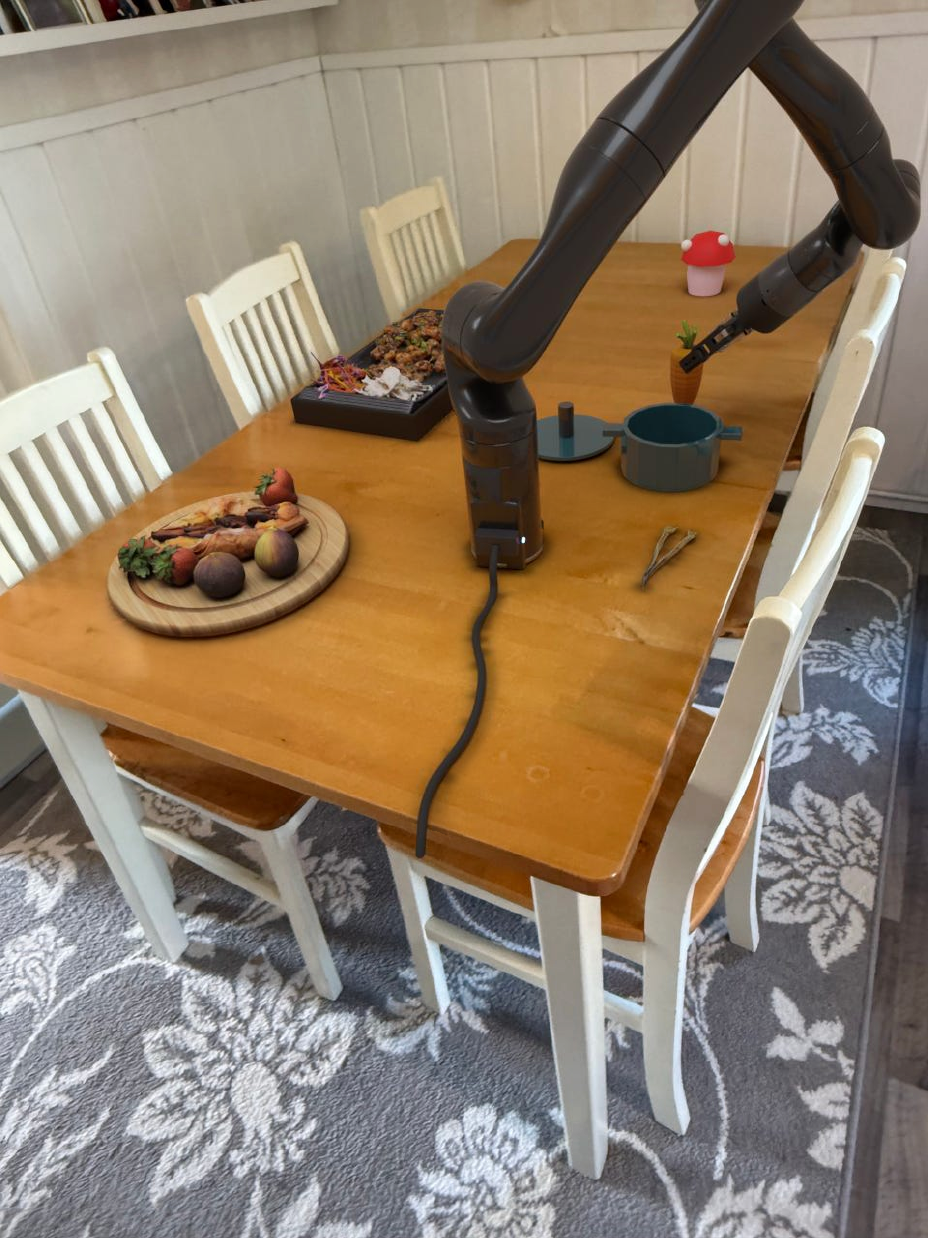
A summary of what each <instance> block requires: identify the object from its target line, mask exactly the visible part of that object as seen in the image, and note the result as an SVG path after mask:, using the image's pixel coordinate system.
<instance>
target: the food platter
mask: <svg viewBox="0 0 928 1238" xmlns="http://www.w3.org/2000/svg"><path fill="white" fill-rule="evenodd" d="M444 310H445V309H432V308H431V309H430V308H421V307H420V308H418V309H416V310H414V311H413V312H412V313H410V314H409V315H408V316H406V317H405V318H403V319H401V320H400V321H399V322H398V321H392V322H391V323H392V324H386V325H385V326H384V327H383V328H382V329H383V330H382V331H383V333H382V334H380V335H379V336H378V337H376V338H375V339H373V340H372V341H371V342H369V343H368V344H366V345H364V346H363V347H362V348H360V349H359V350H358V351H356V352H355V353H353V354H352V355H351V356H349V357H347V356H346V357H345V358H343V355H342V354H338V356H335V357H334V356H333V357H329V358H326V359H325V361H324V362H323V363H321V361H319V359H318V358H317V357H316V356H315V354H314V353H313V352H312V351H311V350H310V351H309V352H310V354H311V355H312V357H313V358H314V359H315V360H316V361H317V363H318V366H319V370H318V369H317V370H316V371H315V372H314V371H312V372H311V373H312V374H314V373H319V374H320V377H319V378H318V379H310V382H312V383H311V384H309V385H305V386H303V388H302V389H301V391H299V392H298V393H296V394H295V395H294V396H292V397H290V400H289V401H290V406H291V410H292V415H293V418H294V423H295V424H302V425H308V426H315V427H322V428H327V429H333V430H340V431H347V432H354V433H358V434H359V433H360V434H366V435H373V436H380V437H384V438H385V437H386V438H391V439H392V438H393V439H399V440H406V441H412V442H419V441H420V440H421V439H423V437H424V436H426V434H428V433H429V432H430V431H431V430H432V429H433V428H435V426H436V425H438V423H440V422H441V421H442V420H443V419H444V418H445V417H446V416H447V415H449V413H451V412H452V411H454V409H453V406H452V403H451V400H450V396H449V389H448V383H447V377H446V370H445V363H444V356H443V349H442V338H441V325H442V318H443V314H444Z"/></svg>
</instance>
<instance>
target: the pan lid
mask: <svg viewBox="0 0 928 1238" xmlns="http://www.w3.org/2000/svg"><path fill="white" fill-rule="evenodd" d="M605 423H608V422H607V421H605V420H604V419H601V418H599V417H595V416H592V415H587V414H578V413H577V414H576V413H575V403H574V402H573V401H560V402H558V404H557V414H555V415H549V416H546V417H542V418H540V419H537V432H538V457H539V459H541V460H547V461H554V462H555V461H557V462H561V461H562V462H567V461H568V462H570V461H578V460H584V459H588V458H591V457H594V456H596V455H598V454H602V452H605V451H606V450H608V449H609V448H610V447H611V445H612V444H613V443H614V440H615V437H603V427H604V424H605Z"/></svg>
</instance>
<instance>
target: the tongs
mask: <svg viewBox="0 0 928 1238" xmlns="http://www.w3.org/2000/svg"><path fill="white" fill-rule="evenodd" d="M678 529H679V526H676V527H673V526H670V525H667V526H665V527H664V528H663V529H662V531H663V533H662V536H661V537H660V538H659V540H658V542H657V544H656V547H655V549H654V551H653V555H652V559H651V561H650V564H649V566H648V568H647V569H646V570H645V571H644V573H643V574H642V577H641V580H640V581H641V583H640V585H641V588H642V589H644V587H645V584H646V582H647V581H648V580H649V578H650V577H651V576H652V575H653V574H654V573H655V572H656V571H657V570H658V569H659V568H660V567H661V566H662V565H664V564H665V563H666V562H667V561H668V560H669V559H670V558H671V557H672V556H674V555H676V554H678V552H679V551H680V550H682V549H683V547H684V546H686V545H687V544H688V543H689V542H691V540H693V539H694V538H695V537H696V535H697V534H698V532H697V531H696V532H695V531H690V530H689V529H687V534H686V535H687V536H686V537H684V538H683V539H682V540H680V541H679V542H678V543H677V544H676V545H675V546H674V548H673V549H672V550H670V551H669V552H667V554H665V555H664V556H662V557H661V558H660V559H659V560H658V562H657V559H658V556H659V553H660V551H661V550H662V549H663V547H664V543H665V541H666V539H667V538H668V537H669V536H670V535H671V534H674V533H675V531H677V530H678ZM656 562H657V563H656Z"/></svg>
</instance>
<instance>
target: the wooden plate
mask: <svg viewBox="0 0 928 1238" xmlns="http://www.w3.org/2000/svg"><path fill="white" fill-rule="evenodd" d="M257 480H258V481H260V482H259V485H256V486H254V485H253V488H255V490H252V491H242V492H241V491H240V492H235V493H234V492H233V493H229V494H223V495H219V496H214V497H211V498H207V499H204V500H200V501H197V502H194V503H191V504H188V505H187V506H184V507H181V508H179V509H175V510H174V511H172V512H170V513H167V514H166V515H164V516H162V517H160V518H158V519H157V520H155V521H154V522H152V523H150V524H149V525H147V526H146V527H145V528H143V529H142V530H140V531H138V533H137V534H135V535H133V537H131V538H130V539H129V540H128V541H126V542H124V543H123V544H122V545H121V547H120V548H118V552H117V554H116V556H115V558H114V559H113V561H112V563H111V565H110V567H109V569H108V573H107V577H106V589H107V595H108V599H109V601H110V603H111V606H112V607H113V609H114V610H115V611H116V612H117V613H118V614H119V615H120V616H121V617H122V618H123V619H125V620H126V621H127V622H129V623H131V624H132V625H134V626H135V627H138V628H140V629H143V630H145V631H147V632H151V633H154V634H158V635H164V636H171V637H181V638H182V637H183V638H189V637H191V638H193V637H210V636H211V637H212V636H218V635H219V636H220V635H225V634H231V633H235V632H238V631H243V630H247V629H251V628H254V627H257V626H260V625H263V624H266V623H268V622H271V621H273V620H276V619H278V618H281V617H282V616H284V615H286V614H288V613H290V612H292V611H294V610H296V609H297V608H299V607H301V606H302V605H305V604H306V603H307V602H309V601H310V600H312V599H313V598H314V597H316V596H317V595H318V594H320V593H321V592H322V591H323V590H324V589H325V588H326V587H328V585H329V584H330V583H331V582H332V581H333V580H334V579H335V577H336V576H337V575H338V574H339V572H340V571H341V570H342V568H343V566H344V564H345V562H346V559H347V556H348V554H349V550H350V533H349V529H348V526H347V523H346V522H345V520H344V518H343V517H342V516H341V514H340V513H339V512H338V511H337V510H336V509H335V508H333V506H331V505H329V504H328V503H326V502H324V501H322V500H320V499H318V498H316V497H314V496H310V495H307V494H304V493H298V492H296V489H295V483H294V479H293V477H292V475H291V473H290V471H288V470H287V469H285V468H283V467H277V468H271V471H270V474H269V475H268V474H267V473H265V472H263V475H260V478H258V479H257Z"/></svg>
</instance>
